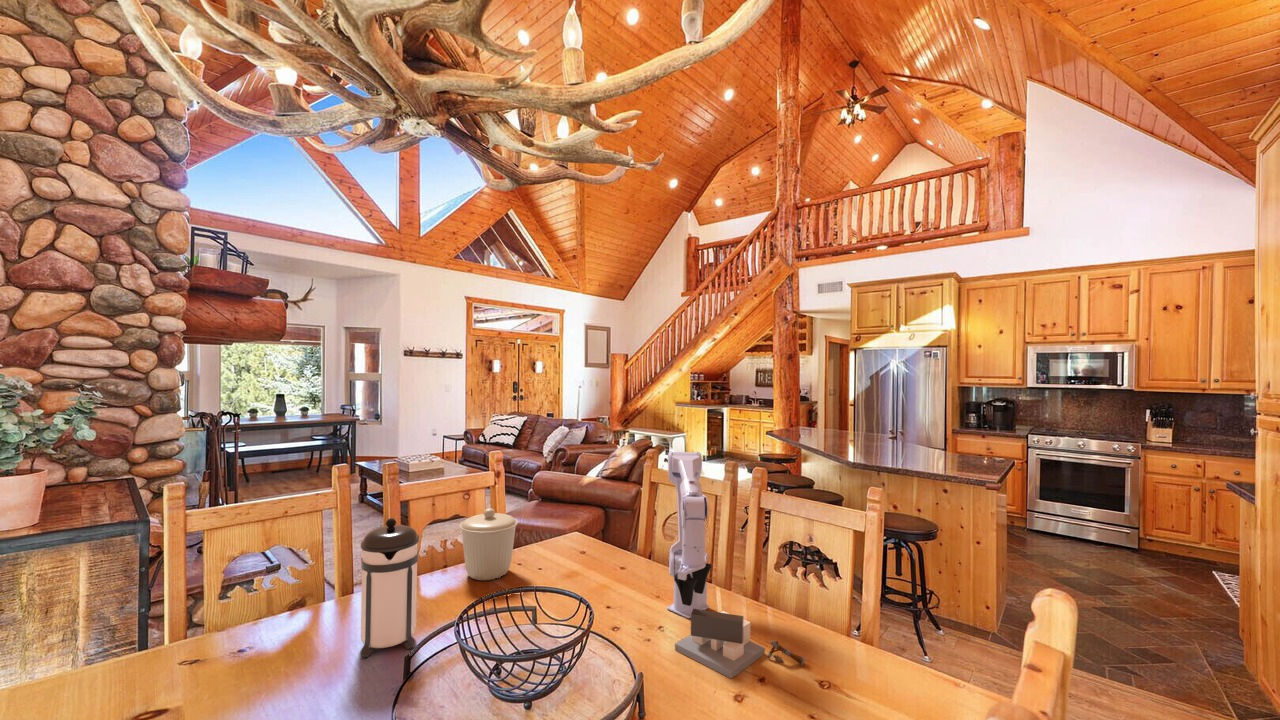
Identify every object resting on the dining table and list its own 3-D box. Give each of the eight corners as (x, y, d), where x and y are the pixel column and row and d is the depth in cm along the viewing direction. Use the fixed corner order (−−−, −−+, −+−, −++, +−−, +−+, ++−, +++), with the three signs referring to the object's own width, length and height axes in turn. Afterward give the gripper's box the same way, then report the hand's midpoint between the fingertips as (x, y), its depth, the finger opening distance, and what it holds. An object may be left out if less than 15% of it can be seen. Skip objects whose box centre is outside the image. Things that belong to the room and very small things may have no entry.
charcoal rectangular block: (693, 629, 125) (693, 608, 125) (743, 637, 122) (743, 616, 122) (690, 635, 122) (691, 614, 122) (742, 643, 119) (742, 622, 119)
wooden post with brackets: (763, 652, 121) (772, 636, 121) (796, 672, 119) (804, 655, 119) (763, 657, 119) (771, 640, 119) (796, 676, 117) (805, 659, 117)
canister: (465, 564, 174) (466, 501, 174) (520, 562, 176) (521, 500, 176) (452, 587, 156) (453, 517, 156) (513, 585, 158) (514, 516, 158)
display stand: (709, 629, 133) (710, 605, 133) (764, 653, 122) (765, 628, 122) (674, 649, 123) (675, 624, 123) (731, 678, 112) (731, 651, 112)
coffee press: (438, 633, 129) (441, 513, 130) (383, 666, 115) (385, 531, 115) (390, 618, 137) (392, 504, 137) (332, 647, 122) (334, 520, 122)
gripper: (690, 533, 138) (689, 584, 138) (666, 550, 126) (665, 606, 125) (715, 538, 135) (714, 590, 135) (693, 555, 122) (692, 613, 122)
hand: (692, 598), depth 130 cm, fingers open, 7 cm apart
